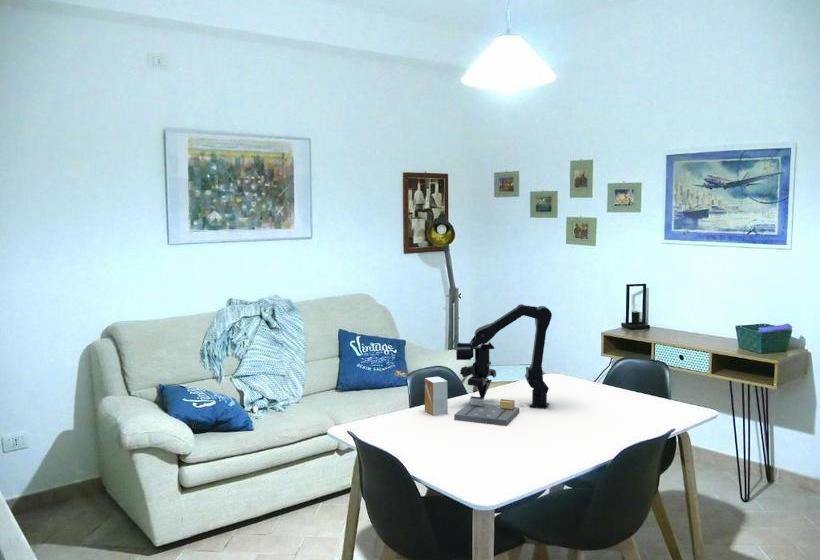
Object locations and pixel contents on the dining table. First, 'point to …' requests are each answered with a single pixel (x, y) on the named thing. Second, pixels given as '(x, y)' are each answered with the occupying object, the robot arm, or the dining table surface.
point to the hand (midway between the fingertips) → (482, 398)
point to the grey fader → (477, 401)
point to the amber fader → (507, 404)
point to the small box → (436, 396)
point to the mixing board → (487, 414)
